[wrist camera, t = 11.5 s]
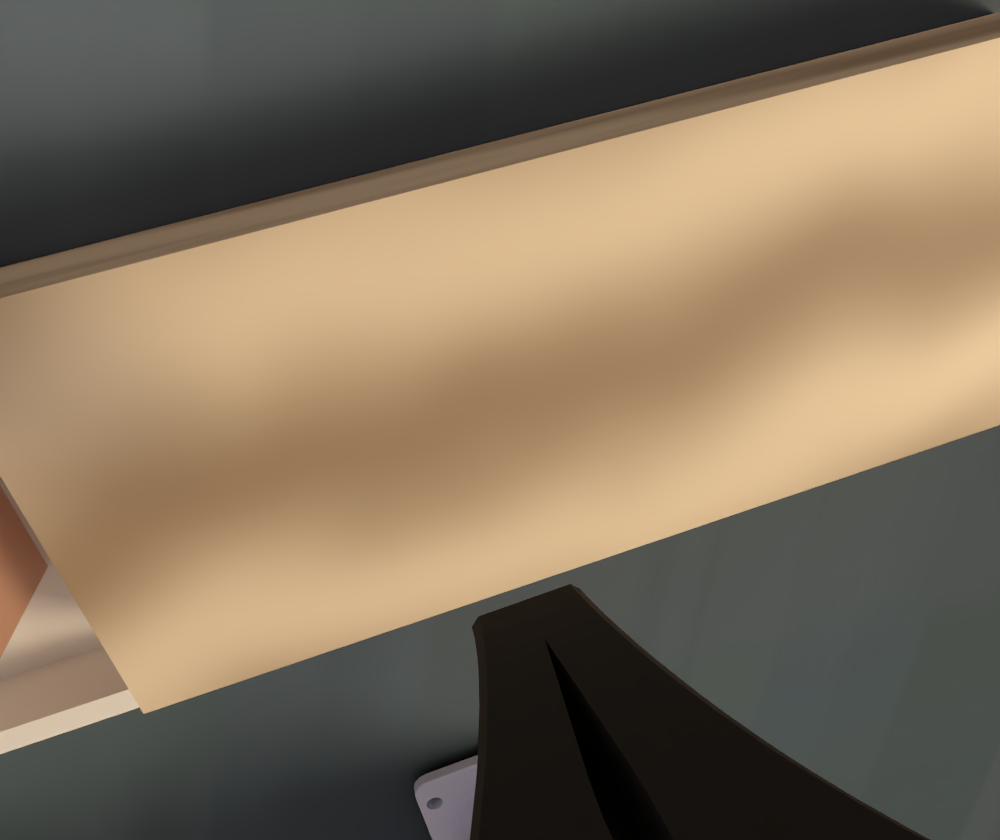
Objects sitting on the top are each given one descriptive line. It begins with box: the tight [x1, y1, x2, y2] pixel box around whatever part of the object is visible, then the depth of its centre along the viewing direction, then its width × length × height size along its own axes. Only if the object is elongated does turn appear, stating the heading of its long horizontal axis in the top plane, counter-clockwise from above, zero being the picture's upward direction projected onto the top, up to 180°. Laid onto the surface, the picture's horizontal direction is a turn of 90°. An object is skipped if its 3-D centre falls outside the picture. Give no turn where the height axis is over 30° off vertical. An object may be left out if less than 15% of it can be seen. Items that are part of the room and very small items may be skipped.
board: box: [0, 13, 1000, 714], centre depth 17 cm, size 9×24×4 cm, turn 102°
